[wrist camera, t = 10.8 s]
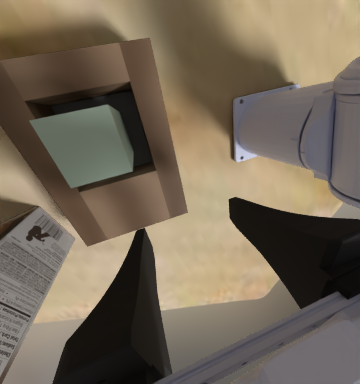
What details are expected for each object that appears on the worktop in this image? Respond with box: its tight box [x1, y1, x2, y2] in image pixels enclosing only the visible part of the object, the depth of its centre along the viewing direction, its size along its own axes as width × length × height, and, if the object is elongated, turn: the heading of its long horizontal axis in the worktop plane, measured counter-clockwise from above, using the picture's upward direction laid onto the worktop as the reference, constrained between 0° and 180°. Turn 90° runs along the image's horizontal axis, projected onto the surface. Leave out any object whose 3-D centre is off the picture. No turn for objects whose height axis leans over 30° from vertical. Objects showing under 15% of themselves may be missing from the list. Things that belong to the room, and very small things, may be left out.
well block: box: [0, 38, 188, 247], centre depth 15 cm, size 12×16×4 cm
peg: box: [29, 105, 134, 188], centre depth 12 cm, size 4×4×8 cm
